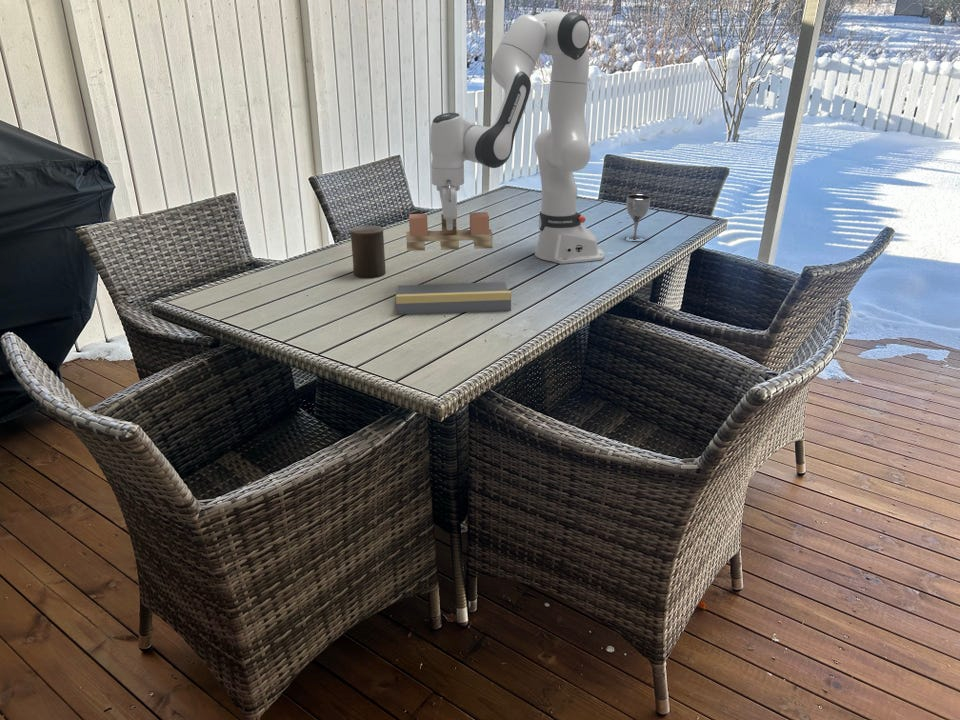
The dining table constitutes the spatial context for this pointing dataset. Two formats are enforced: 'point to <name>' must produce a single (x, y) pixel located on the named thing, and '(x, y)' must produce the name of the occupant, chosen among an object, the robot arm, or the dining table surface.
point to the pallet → (449, 238)
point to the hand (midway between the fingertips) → (449, 227)
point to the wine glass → (637, 209)
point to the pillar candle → (368, 251)
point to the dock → (452, 298)
